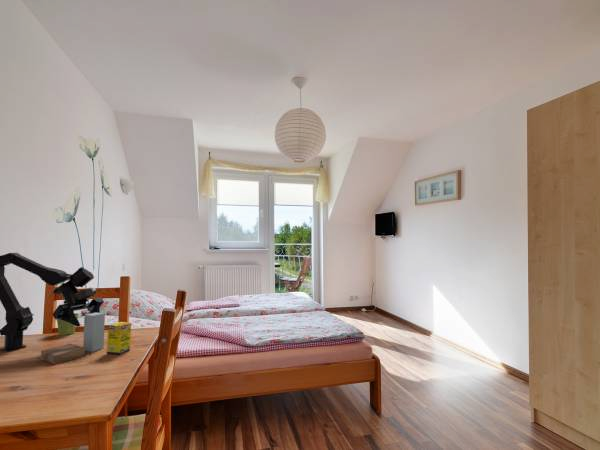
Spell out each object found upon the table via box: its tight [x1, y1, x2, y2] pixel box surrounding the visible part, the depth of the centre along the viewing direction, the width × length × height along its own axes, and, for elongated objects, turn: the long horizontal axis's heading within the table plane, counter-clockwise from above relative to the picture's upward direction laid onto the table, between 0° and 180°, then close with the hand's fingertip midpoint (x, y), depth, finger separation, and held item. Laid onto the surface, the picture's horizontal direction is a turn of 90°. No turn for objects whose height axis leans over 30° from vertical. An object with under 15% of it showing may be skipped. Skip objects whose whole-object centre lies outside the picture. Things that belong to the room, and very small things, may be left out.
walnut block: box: [40, 343, 86, 365], centre depth 123 cm, size 10×10×3 cm
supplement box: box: [106, 321, 132, 355], centre depth 130 cm, size 6×6×11 cm
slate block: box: [82, 312, 106, 353], centre depth 133 cm, size 5×5×14 cm
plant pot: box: [55, 312, 80, 336], centre depth 156 cm, size 9×9×9 cm
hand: (90, 323), depth 134 cm, fingers open, 9 cm apart
